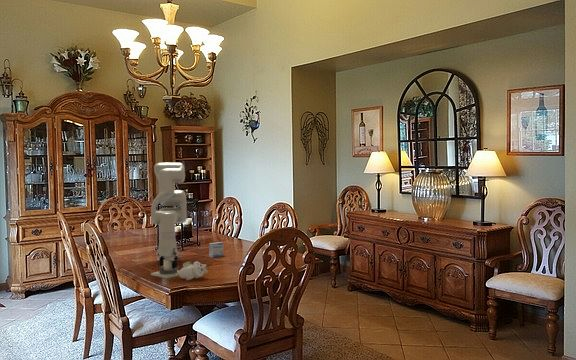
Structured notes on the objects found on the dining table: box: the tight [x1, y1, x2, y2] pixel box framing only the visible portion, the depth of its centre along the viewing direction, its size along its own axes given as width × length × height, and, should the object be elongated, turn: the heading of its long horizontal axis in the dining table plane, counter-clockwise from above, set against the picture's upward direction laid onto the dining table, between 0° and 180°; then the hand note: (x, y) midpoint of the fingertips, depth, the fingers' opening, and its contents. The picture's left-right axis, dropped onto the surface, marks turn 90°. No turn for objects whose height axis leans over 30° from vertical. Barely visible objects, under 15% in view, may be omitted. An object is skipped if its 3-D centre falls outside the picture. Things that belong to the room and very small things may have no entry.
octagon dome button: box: [150, 267, 181, 279], centre depth 275 cm, size 13×13×3 cm
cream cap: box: [163, 259, 173, 271], centre depth 275 cm, size 5×5×7 cm
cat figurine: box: [178, 261, 209, 282], centre depth 265 cm, size 10×8×15 cm
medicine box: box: [208, 241, 224, 259], centre depth 321 cm, size 8×4×9 cm, turn 126°
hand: (168, 266), depth 275 cm, fingers open, 9 cm apart
